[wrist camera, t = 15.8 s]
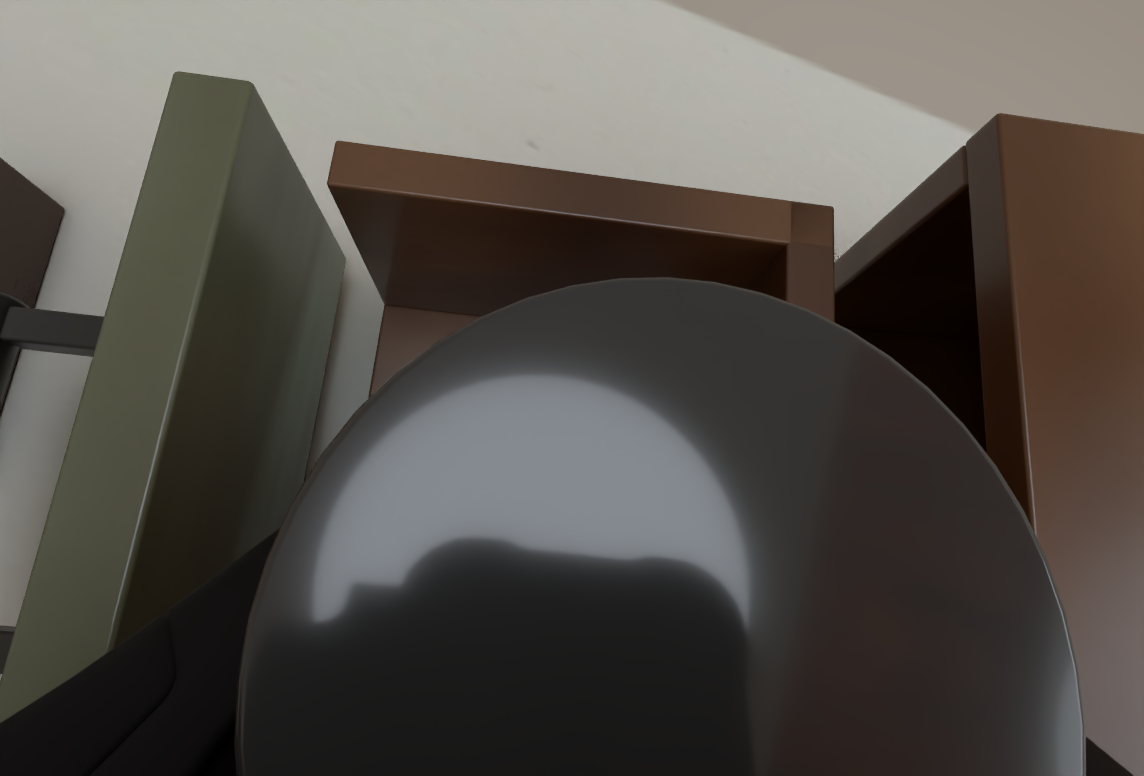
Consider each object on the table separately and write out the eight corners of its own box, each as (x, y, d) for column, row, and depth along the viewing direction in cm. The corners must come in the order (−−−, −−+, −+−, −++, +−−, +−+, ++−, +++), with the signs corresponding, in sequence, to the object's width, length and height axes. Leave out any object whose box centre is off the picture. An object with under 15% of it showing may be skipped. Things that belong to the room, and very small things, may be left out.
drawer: (-53, 816, 13) (-559, 1049, 7) (116, 229, 16) (-122, 27, 10) (700, 865, 14) (853, 1104, 8) (721, 303, 17) (839, 161, 11)
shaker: (610, 795, 11) (908, 1465, 3) (373, 649, 11) (17, 881, 3) (732, 547, 12) (1186, 516, 4) (515, 419, 12) (534, 146, 4)
